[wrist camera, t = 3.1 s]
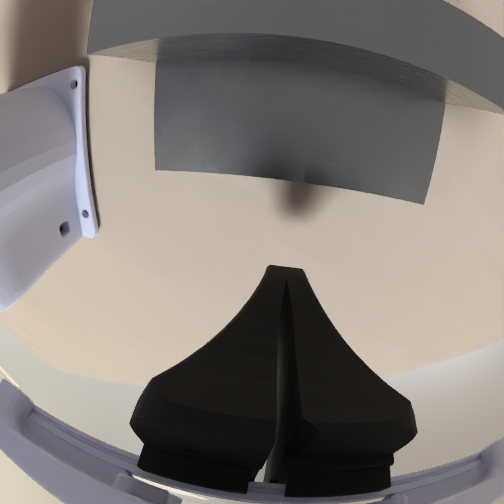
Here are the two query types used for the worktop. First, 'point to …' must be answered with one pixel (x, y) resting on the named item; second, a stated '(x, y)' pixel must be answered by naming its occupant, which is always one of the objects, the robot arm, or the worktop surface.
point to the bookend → (306, 84)
